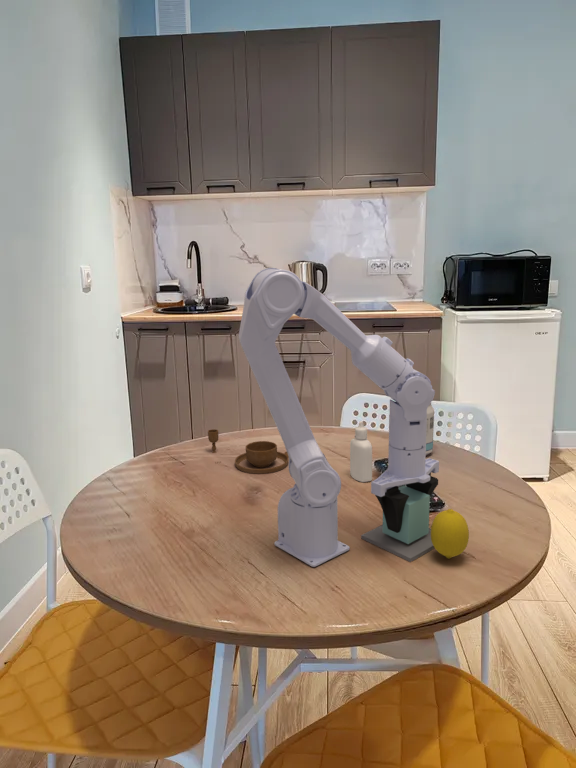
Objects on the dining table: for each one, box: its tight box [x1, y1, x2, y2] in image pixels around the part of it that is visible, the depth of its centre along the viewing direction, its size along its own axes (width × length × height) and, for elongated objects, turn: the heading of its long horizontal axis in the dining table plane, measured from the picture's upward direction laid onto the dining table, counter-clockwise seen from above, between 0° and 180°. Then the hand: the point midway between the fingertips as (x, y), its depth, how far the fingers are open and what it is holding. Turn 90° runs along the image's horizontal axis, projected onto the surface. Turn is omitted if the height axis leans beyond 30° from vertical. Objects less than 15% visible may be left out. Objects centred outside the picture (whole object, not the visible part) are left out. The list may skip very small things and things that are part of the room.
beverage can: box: [426, 402, 435, 456], centre depth 132 cm, size 7×7×12 cm
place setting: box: [207, 428, 289, 475], centre depth 132 cm, size 18×20×6 cm
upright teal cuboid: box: [382, 485, 431, 544], centre depth 93 cm, size 5×5×7 cm
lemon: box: [430, 508, 470, 559], centre depth 87 cm, size 6×6×8 cm
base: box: [360, 524, 435, 563], centre depth 94 cm, size 10×10×1 cm
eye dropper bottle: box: [349, 421, 373, 483], centre depth 118 cm, size 4×6×12 cm
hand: (405, 524), depth 93 cm, fingers closed on upright teal cuboid, 5 cm apart
